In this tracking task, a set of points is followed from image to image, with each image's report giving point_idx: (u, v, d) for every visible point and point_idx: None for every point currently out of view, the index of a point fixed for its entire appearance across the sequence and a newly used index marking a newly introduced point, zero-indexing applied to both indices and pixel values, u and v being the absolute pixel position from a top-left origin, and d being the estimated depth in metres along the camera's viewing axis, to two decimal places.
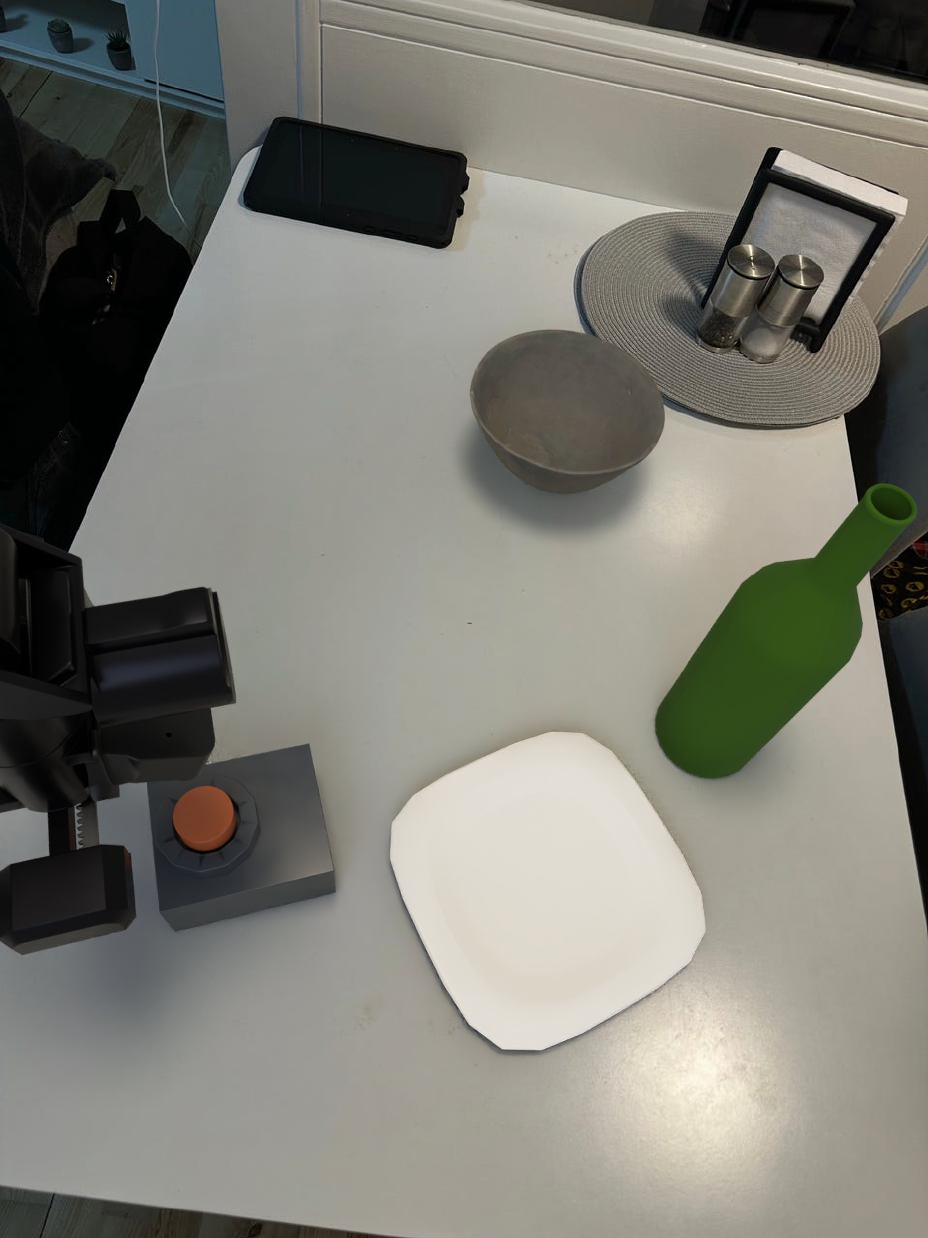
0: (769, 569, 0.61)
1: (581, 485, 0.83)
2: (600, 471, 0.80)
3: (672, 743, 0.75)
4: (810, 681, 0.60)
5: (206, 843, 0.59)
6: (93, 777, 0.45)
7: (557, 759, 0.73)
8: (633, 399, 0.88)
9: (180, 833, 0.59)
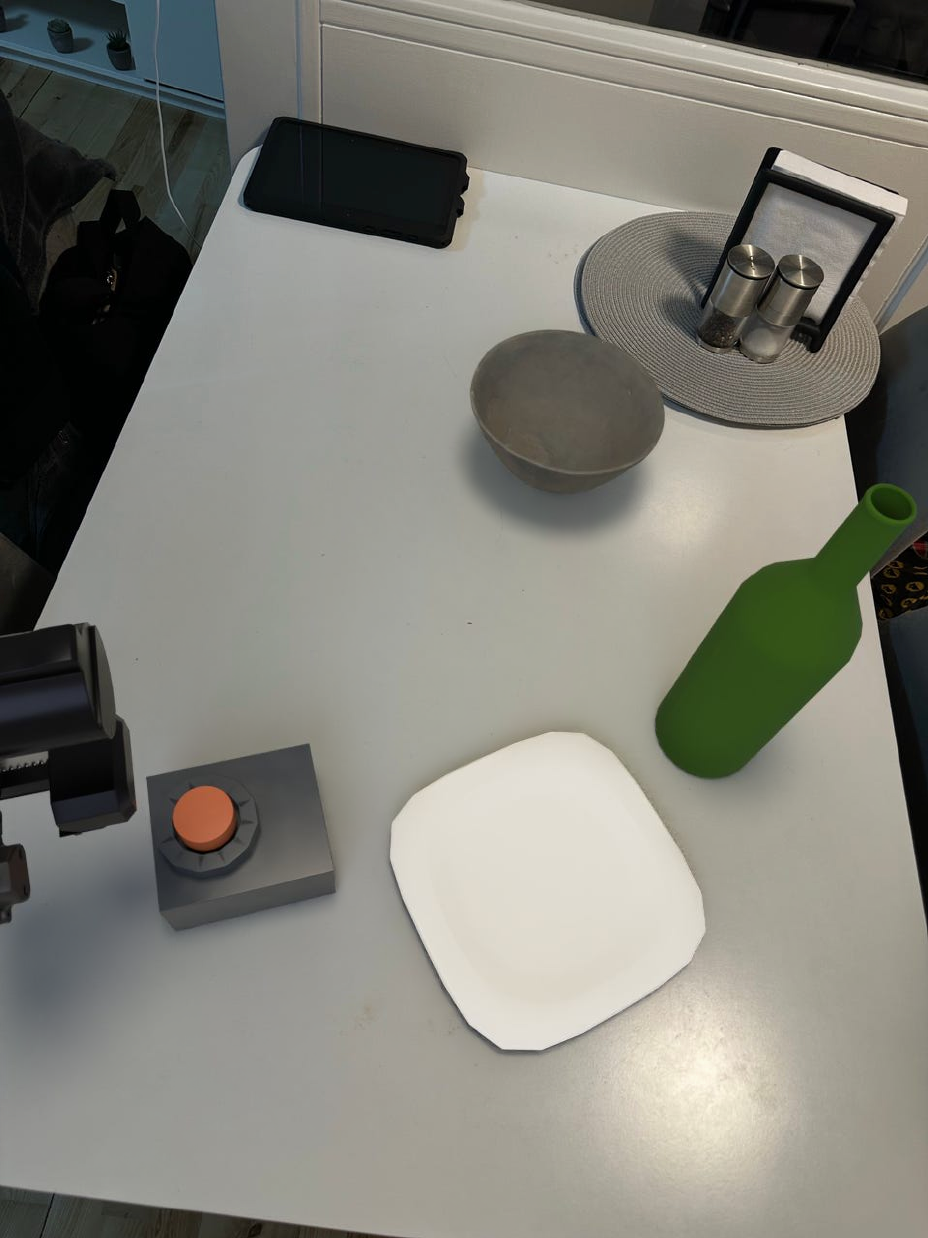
0: (769, 569, 0.61)
1: (581, 485, 0.83)
2: (600, 471, 0.80)
3: (672, 743, 0.75)
4: (810, 681, 0.60)
5: (206, 843, 0.59)
6: None
7: (557, 759, 0.73)
8: (633, 399, 0.88)
9: (180, 833, 0.59)
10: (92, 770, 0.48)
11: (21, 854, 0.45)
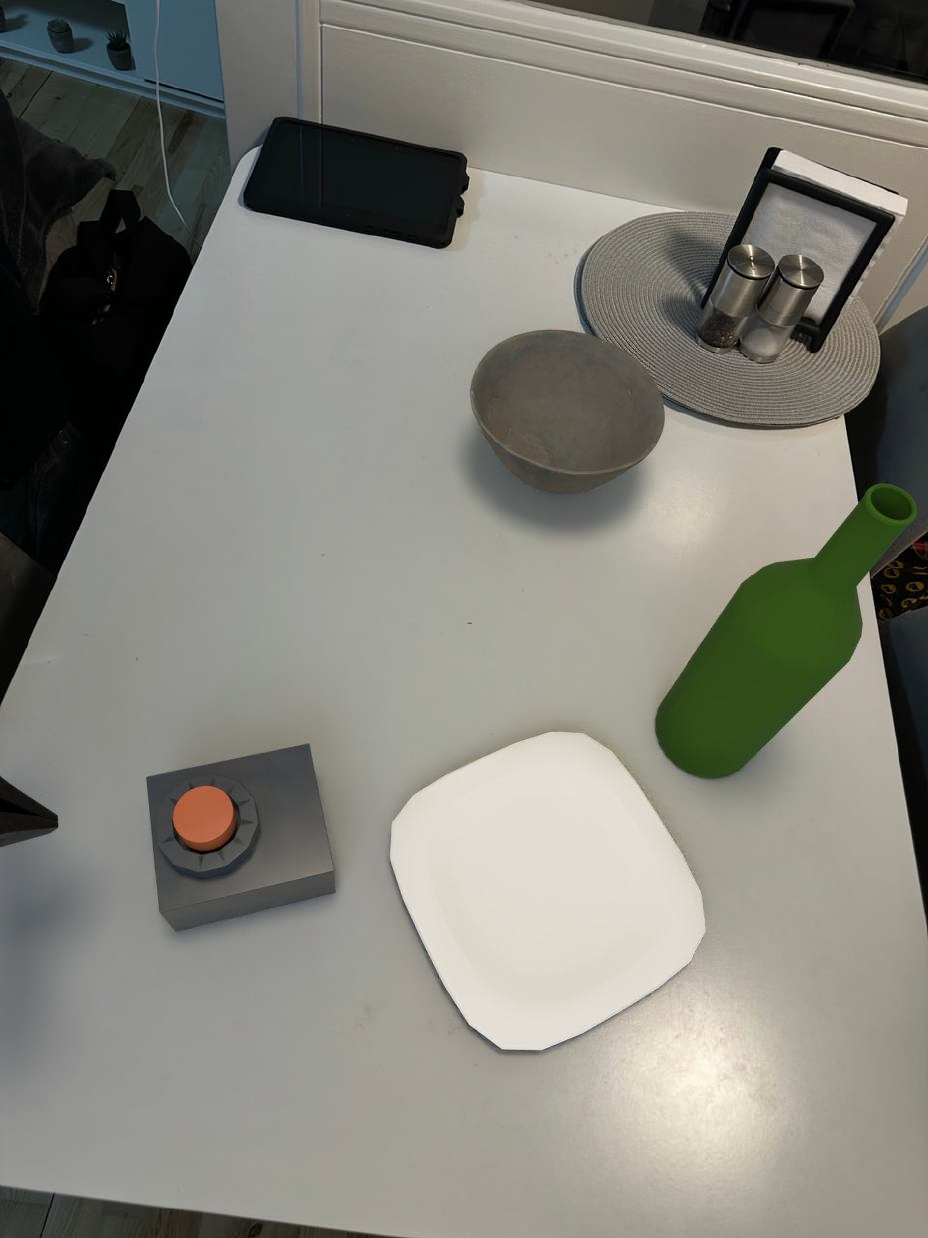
0: (769, 569, 0.61)
1: (581, 485, 0.83)
2: (600, 471, 0.80)
3: (672, 743, 0.75)
4: (810, 681, 0.60)
5: (206, 843, 0.59)
6: None
7: (557, 759, 0.73)
8: (633, 399, 0.88)
9: (180, 833, 0.59)
10: None
11: None
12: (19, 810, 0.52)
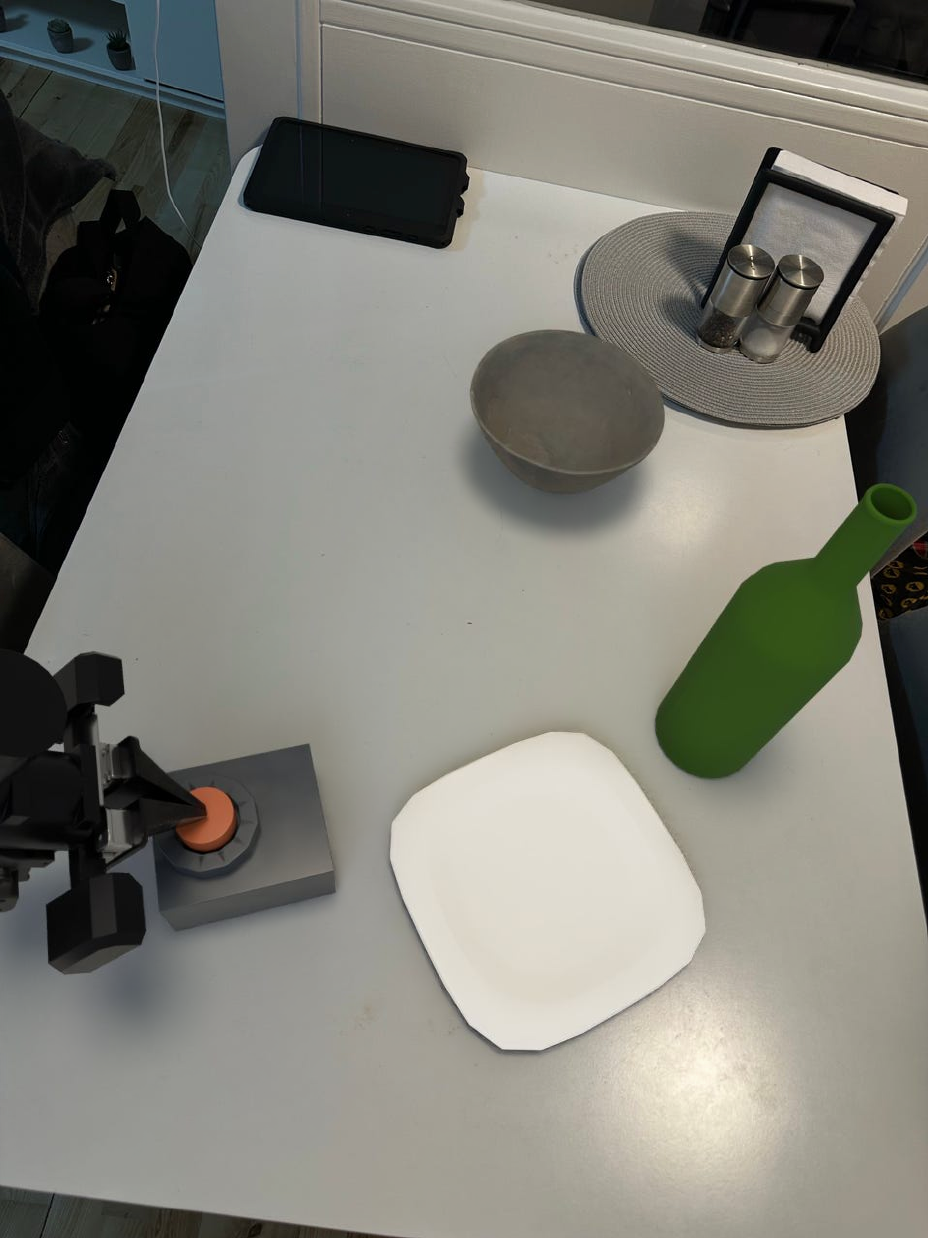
0: (769, 569, 0.61)
1: (581, 485, 0.83)
2: (600, 471, 0.80)
3: (672, 743, 0.75)
4: (810, 681, 0.60)
5: (206, 844, 0.60)
6: None
7: (557, 759, 0.73)
8: (633, 399, 0.88)
9: (181, 834, 0.59)
10: (60, 936, 0.49)
11: (5, 900, 0.52)
12: (176, 800, 0.57)
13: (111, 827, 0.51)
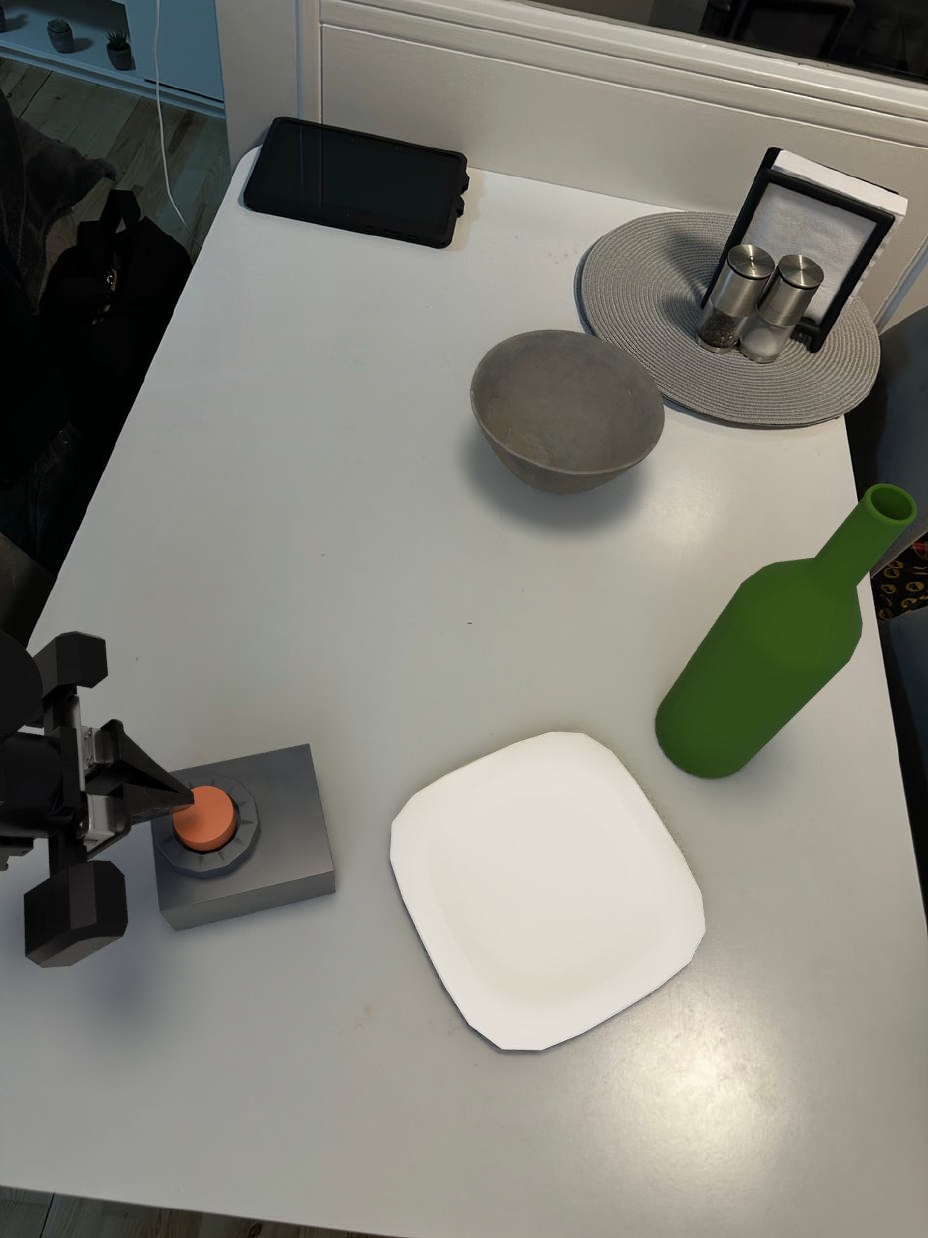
0: (769, 569, 0.61)
1: (581, 485, 0.83)
2: (600, 471, 0.80)
3: (672, 743, 0.75)
4: (810, 681, 0.60)
5: (206, 843, 0.59)
6: None
7: (557, 759, 0.73)
8: (633, 399, 0.88)
9: (180, 833, 0.59)
10: (38, 927, 0.47)
11: None
12: (162, 787, 0.55)
13: (92, 813, 0.49)
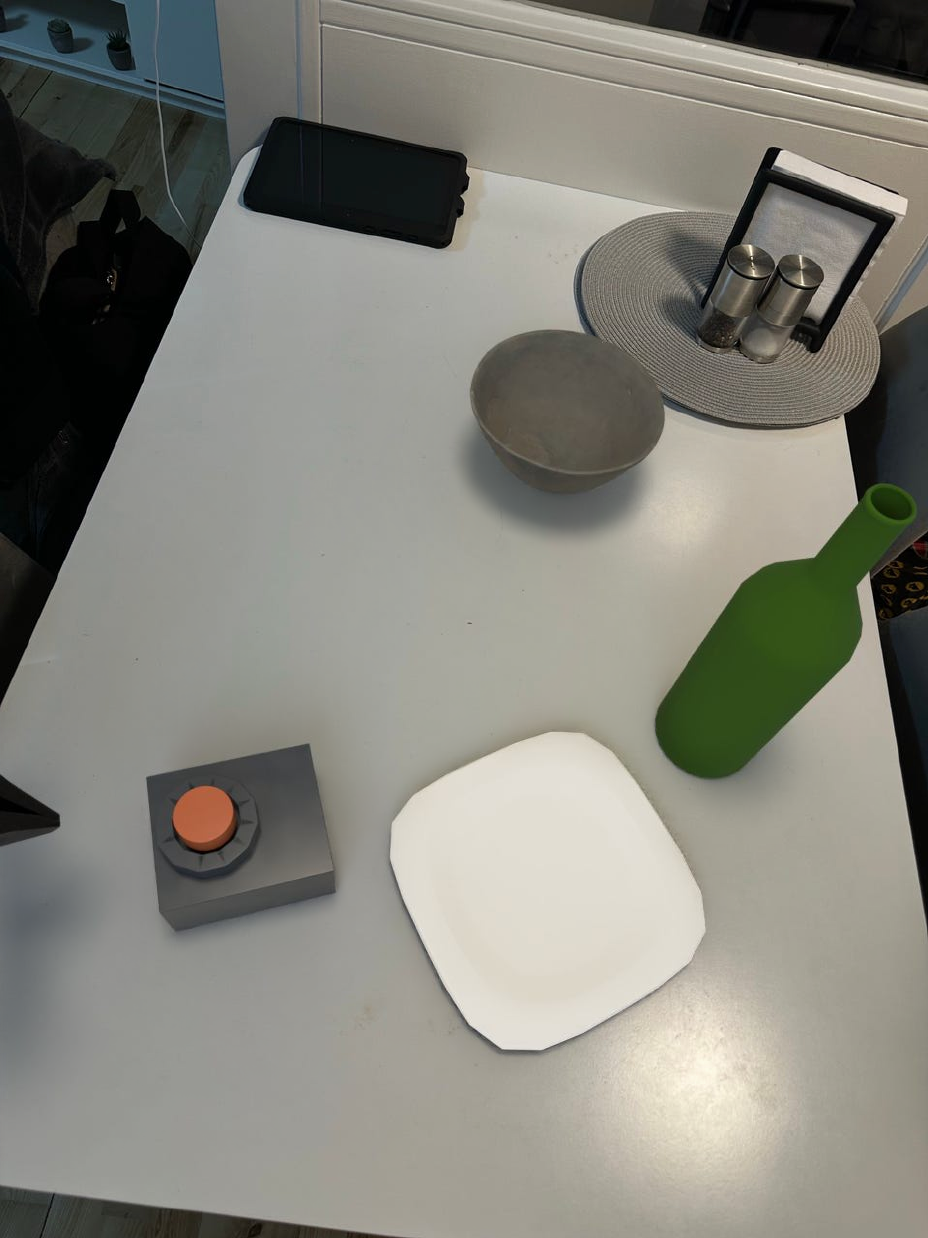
0: (769, 569, 0.61)
1: (581, 485, 0.83)
2: (600, 471, 0.80)
3: (672, 743, 0.75)
4: (810, 681, 0.60)
5: (206, 843, 0.59)
6: None
7: (557, 759, 0.73)
8: (633, 399, 0.88)
9: (180, 833, 0.59)
10: None
11: None
12: (20, 809, 0.52)
13: None
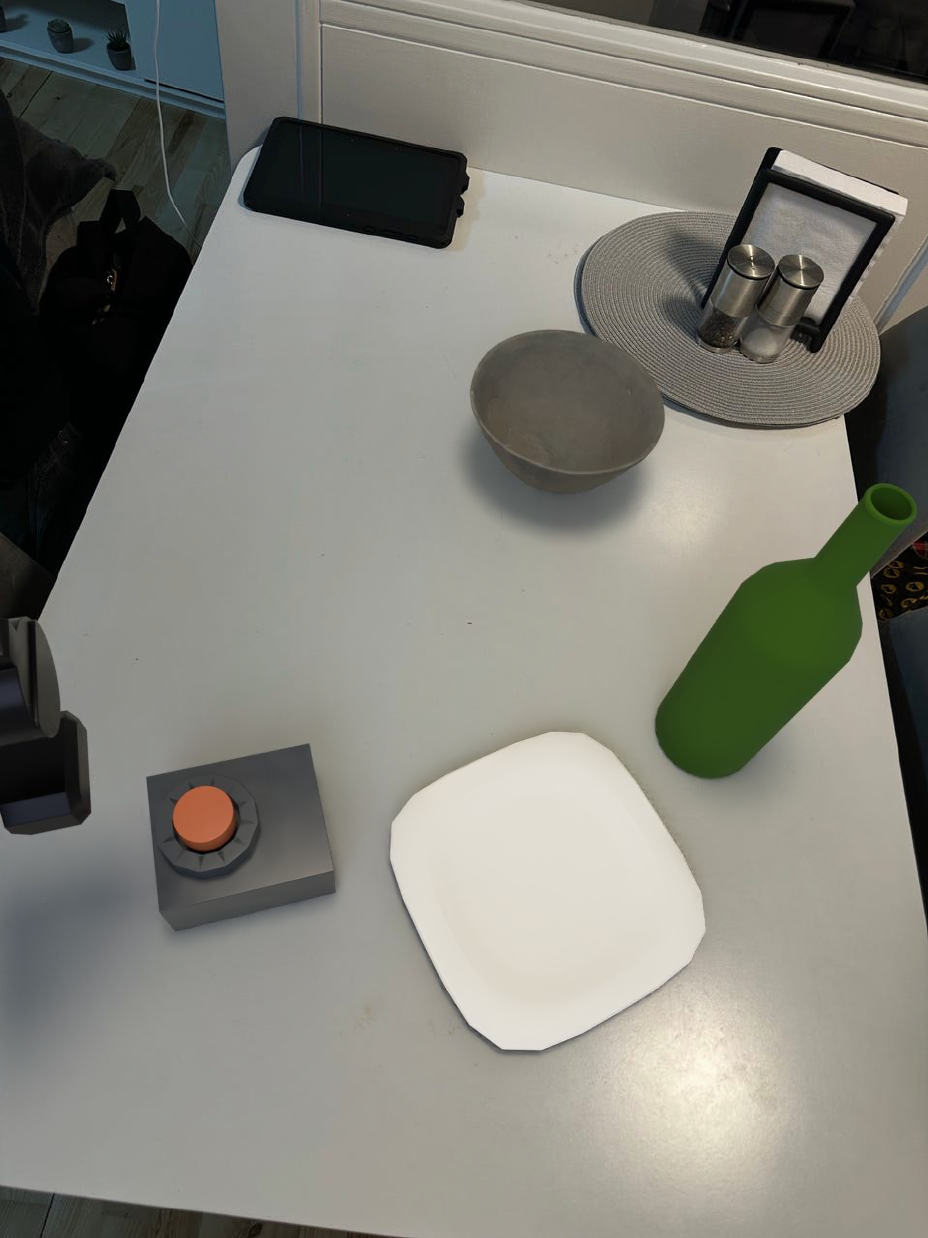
0: (769, 569, 0.61)
1: (581, 485, 0.83)
2: (600, 471, 0.80)
3: (672, 743, 0.75)
4: (810, 681, 0.60)
5: (206, 843, 0.59)
6: None
7: (557, 759, 0.73)
8: (633, 399, 0.88)
9: (180, 833, 0.59)
10: (43, 771, 0.47)
11: None
12: None
13: None
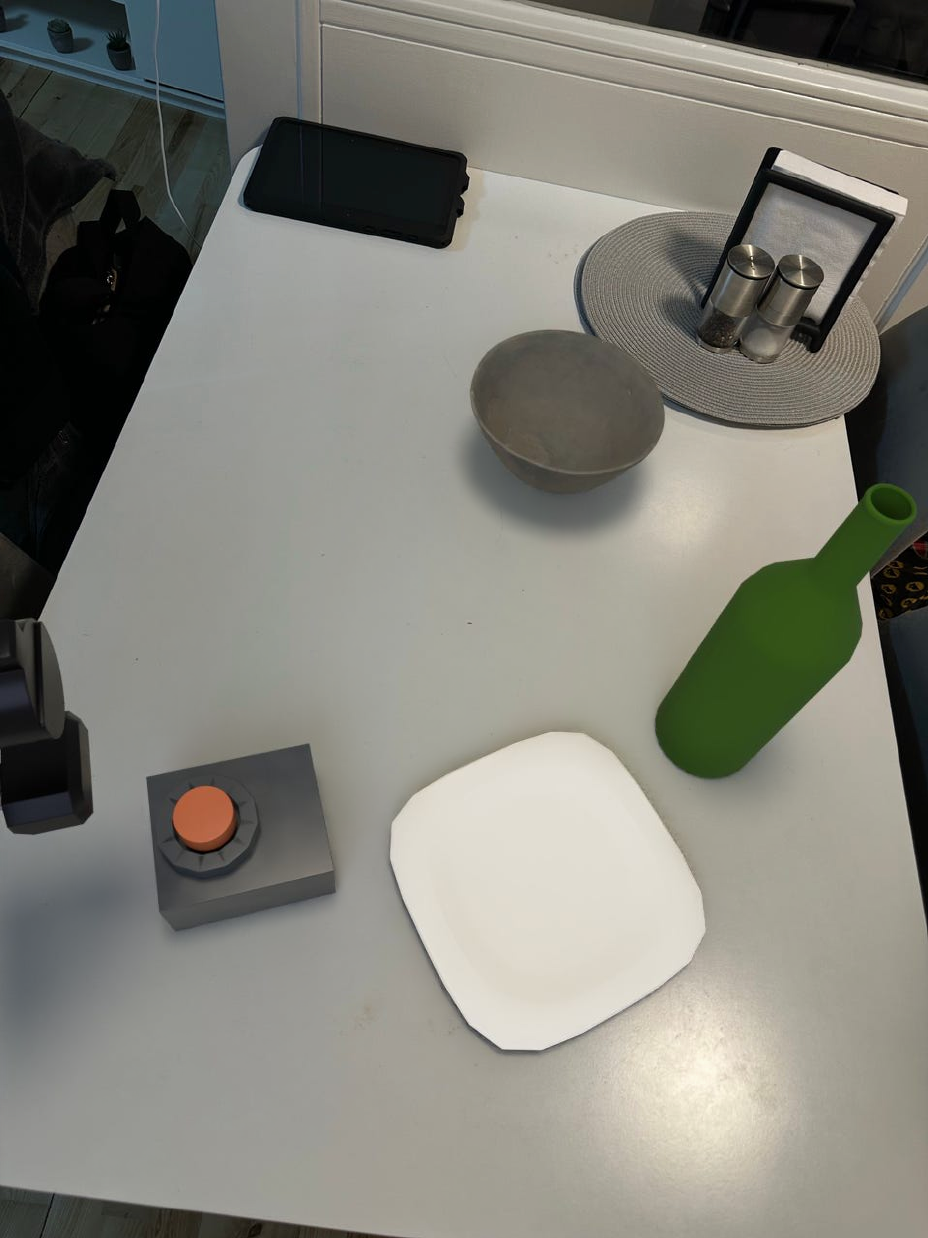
0: (769, 569, 0.61)
1: (581, 485, 0.83)
2: (600, 471, 0.80)
3: (672, 743, 0.75)
4: (810, 681, 0.60)
5: (206, 843, 0.59)
6: None
7: (557, 759, 0.73)
8: (633, 399, 0.88)
9: (180, 833, 0.59)
10: (45, 771, 0.47)
11: None
12: None
13: None
